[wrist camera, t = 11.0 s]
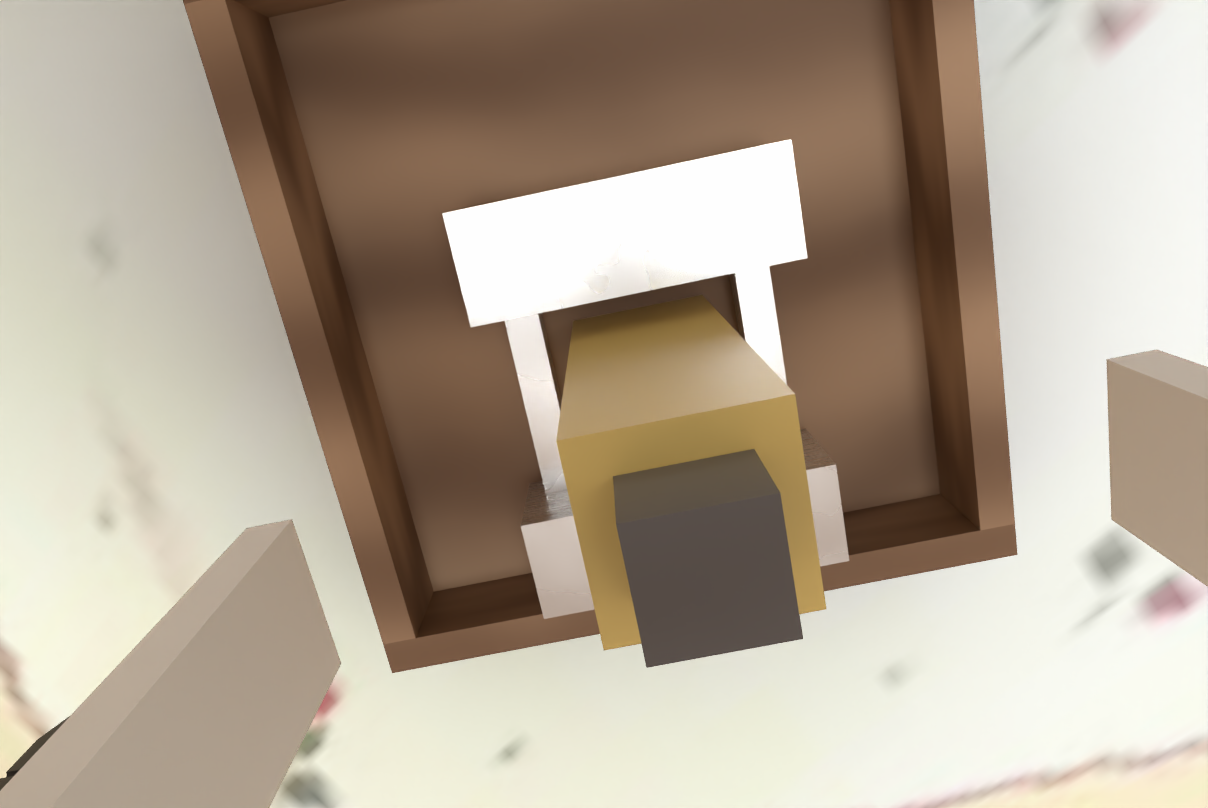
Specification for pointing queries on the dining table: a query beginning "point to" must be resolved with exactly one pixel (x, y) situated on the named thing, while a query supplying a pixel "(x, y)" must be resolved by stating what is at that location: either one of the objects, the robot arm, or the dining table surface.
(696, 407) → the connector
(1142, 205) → the dining table surface
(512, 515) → the box
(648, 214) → the inlet
